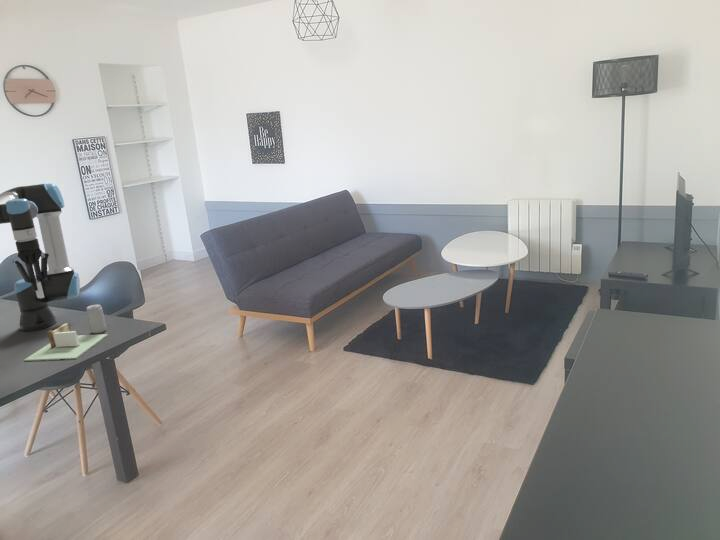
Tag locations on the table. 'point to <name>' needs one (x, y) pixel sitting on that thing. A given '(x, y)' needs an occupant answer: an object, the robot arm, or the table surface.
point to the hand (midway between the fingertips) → (40, 297)
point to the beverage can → (96, 319)
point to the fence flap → (66, 338)
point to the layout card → (67, 349)
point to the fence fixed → (61, 329)
